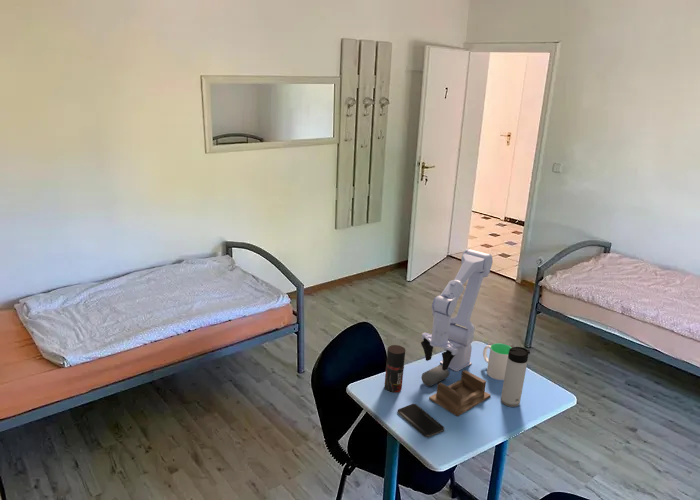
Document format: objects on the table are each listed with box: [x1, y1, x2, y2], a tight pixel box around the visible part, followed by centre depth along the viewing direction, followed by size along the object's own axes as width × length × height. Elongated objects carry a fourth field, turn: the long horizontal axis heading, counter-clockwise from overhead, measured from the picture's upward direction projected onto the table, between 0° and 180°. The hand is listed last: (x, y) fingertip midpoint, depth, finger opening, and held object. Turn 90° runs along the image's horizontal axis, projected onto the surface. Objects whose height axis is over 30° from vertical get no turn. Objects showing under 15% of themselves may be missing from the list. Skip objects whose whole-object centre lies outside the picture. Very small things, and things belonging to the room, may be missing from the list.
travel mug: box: [500, 346, 531, 408], centre depth 183 cm, size 6×7×20 cm
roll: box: [420, 363, 450, 387], centre depth 195 cm, size 9×5×5 cm, turn 132°
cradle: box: [428, 369, 491, 417], centre depth 186 cm, size 18×12×6 cm, turn 132°
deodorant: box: [384, 344, 406, 394], centre depth 188 cm, size 6×6×15 cm
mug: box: [482, 342, 512, 381], centre depth 203 cm, size 12×8×10 cm, turn 36°
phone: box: [396, 403, 445, 438], centre depth 174 cm, size 8×1×15 cm
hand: (436, 364), depth 194 cm, fingers open, 7 cm apart
